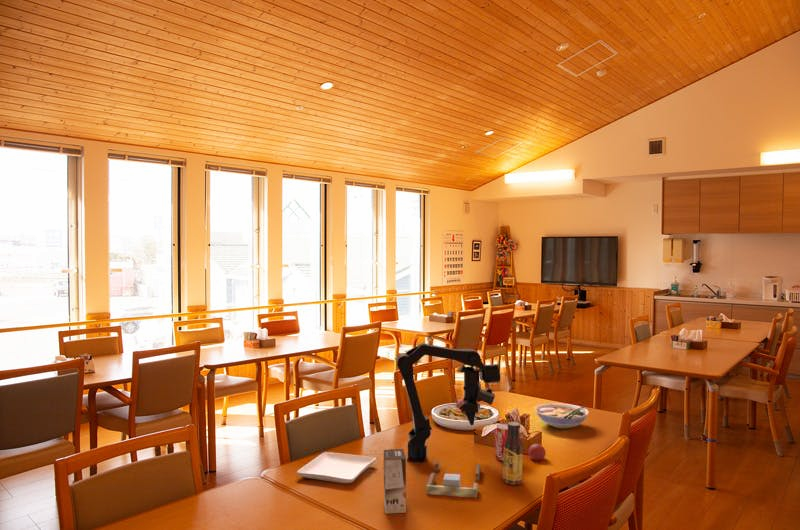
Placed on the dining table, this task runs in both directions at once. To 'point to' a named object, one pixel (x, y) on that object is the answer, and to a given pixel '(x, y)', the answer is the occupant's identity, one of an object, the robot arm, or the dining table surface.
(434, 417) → the bowl
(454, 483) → the white cube
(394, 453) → the coffee box
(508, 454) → the sauce bottle
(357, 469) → the salad plate
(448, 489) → the wooden pieces
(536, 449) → the fruit
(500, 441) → the soda can
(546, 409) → the ramen bowl
